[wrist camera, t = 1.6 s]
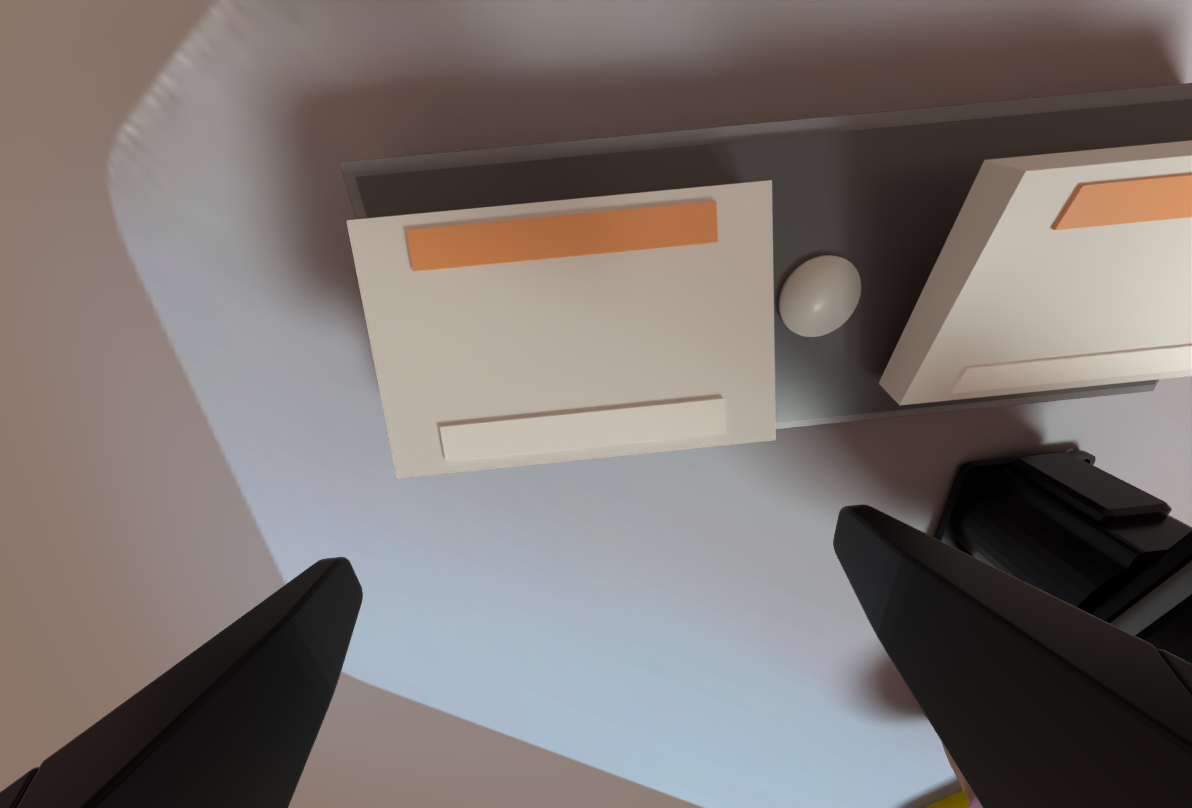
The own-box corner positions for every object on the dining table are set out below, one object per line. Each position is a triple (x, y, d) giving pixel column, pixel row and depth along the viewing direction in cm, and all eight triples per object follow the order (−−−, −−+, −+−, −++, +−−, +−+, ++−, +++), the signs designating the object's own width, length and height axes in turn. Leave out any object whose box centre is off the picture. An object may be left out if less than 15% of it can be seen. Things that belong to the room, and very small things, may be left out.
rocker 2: (1182, 352, 15) (1225, 374, 14) (878, 383, 15) (901, 407, 14) (1419, 118, 10) (1508, 126, 9) (984, 159, 10) (1029, 172, 9)
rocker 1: (759, 430, 13) (777, 441, 12) (413, 464, 13) (395, 479, 12) (753, 194, 12) (773, 178, 11) (369, 230, 12) (343, 219, 11)
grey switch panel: (1070, 363, 19) (1166, 395, 16) (451, 426, 19) (428, 469, 16) (1187, 95, 15) (1350, 66, 12) (382, 169, 14) (331, 160, 11)
